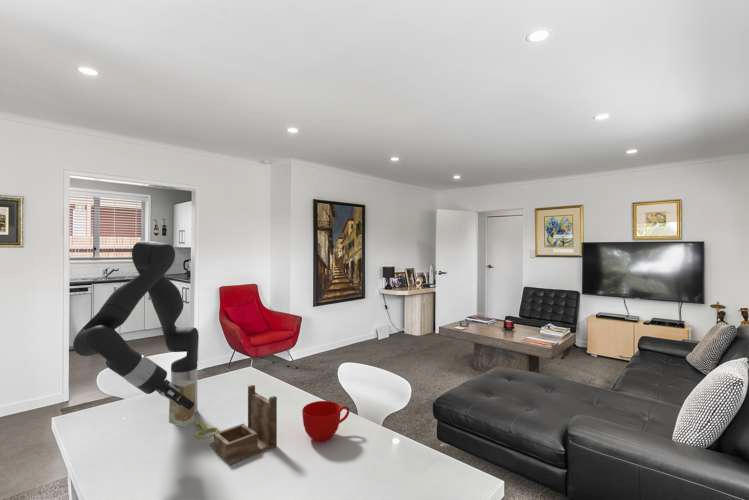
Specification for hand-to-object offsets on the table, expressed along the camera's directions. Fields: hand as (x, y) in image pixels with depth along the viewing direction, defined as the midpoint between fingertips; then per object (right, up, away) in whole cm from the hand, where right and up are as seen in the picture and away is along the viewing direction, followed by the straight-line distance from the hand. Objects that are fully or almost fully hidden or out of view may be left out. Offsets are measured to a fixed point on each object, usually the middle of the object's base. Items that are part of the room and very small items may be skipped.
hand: (187, 402), depth 118 cm
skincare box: (-1, -6, -1) cm, 6 cm away
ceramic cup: (+41, -17, +13) cm, 47 cm away
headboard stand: (+15, -17, +7) cm, 24 cm away
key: (-2, -17, +17) cm, 25 cm away
